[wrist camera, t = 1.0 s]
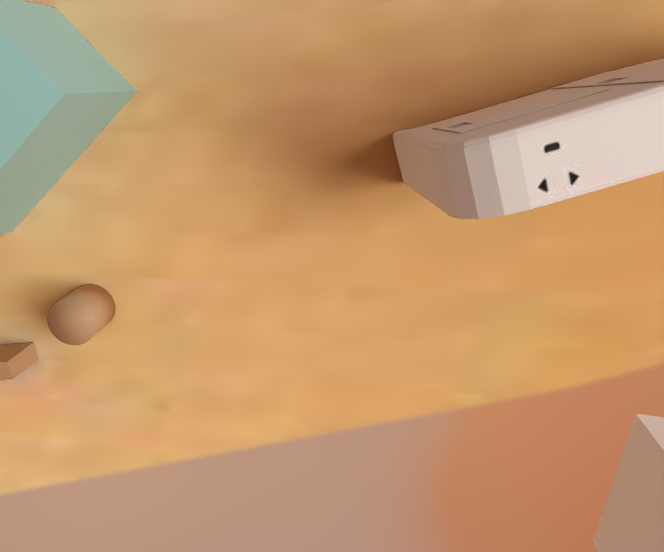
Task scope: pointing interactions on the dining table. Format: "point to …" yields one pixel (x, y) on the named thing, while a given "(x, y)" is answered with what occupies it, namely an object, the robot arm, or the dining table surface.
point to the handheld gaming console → (540, 145)
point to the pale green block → (47, 102)
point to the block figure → (63, 326)
